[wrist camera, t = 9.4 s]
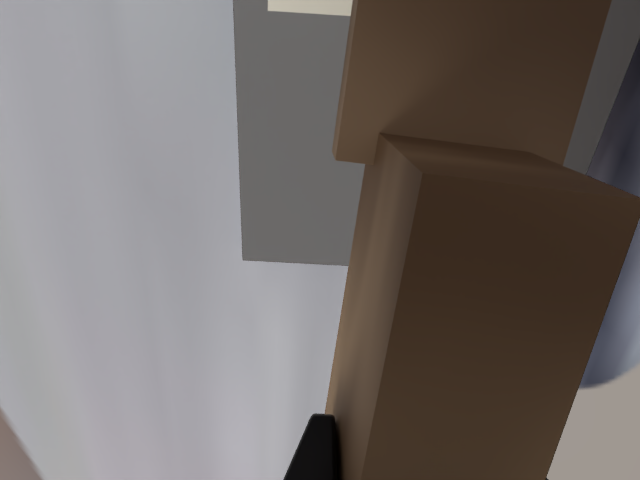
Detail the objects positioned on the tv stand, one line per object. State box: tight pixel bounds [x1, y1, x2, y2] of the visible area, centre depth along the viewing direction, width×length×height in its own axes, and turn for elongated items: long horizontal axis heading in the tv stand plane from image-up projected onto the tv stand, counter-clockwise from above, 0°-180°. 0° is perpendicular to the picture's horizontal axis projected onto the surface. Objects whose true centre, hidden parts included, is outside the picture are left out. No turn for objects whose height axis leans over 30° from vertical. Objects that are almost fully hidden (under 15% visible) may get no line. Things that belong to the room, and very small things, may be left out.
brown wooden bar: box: [325, 0, 640, 480], centre depth 8 cm, size 18×4×4 cm, turn 172°
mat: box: [233, 0, 640, 266], centre depth 12 cm, size 16×10×1 cm, turn 177°
